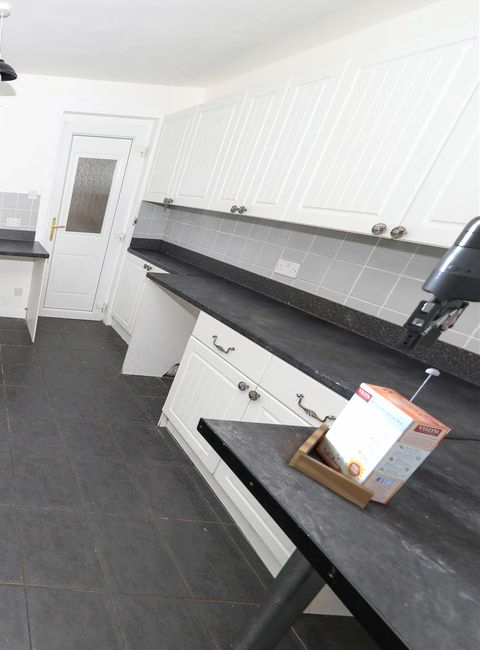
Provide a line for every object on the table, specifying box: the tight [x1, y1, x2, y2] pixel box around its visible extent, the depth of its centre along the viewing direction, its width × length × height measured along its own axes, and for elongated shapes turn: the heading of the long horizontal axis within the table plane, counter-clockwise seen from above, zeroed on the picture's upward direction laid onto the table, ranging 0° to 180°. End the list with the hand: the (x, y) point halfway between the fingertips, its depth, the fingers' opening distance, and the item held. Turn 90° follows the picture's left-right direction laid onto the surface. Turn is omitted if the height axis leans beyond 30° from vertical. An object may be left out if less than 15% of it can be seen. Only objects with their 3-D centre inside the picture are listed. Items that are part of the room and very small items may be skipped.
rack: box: [288, 422, 375, 509], centre depth 77 cm, size 19×12×5 cm, turn 122°
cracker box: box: [315, 382, 452, 505], centre depth 72 cm, size 14×6×21 cm, turn 160°
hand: (413, 347), depth 69 cm, fingers open, 8 cm apart
